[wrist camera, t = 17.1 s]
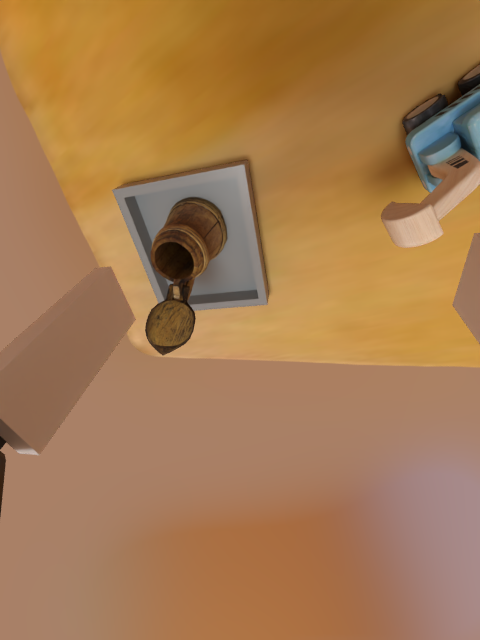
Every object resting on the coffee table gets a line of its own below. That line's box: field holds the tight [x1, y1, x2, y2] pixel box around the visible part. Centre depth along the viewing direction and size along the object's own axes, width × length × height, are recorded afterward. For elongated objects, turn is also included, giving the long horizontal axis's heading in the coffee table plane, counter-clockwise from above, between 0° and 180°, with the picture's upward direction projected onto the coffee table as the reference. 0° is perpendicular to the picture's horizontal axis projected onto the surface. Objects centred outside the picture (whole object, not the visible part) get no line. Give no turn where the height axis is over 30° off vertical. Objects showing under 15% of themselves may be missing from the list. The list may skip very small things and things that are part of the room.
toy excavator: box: [381, 64, 480, 248], centre depth 28 cm, size 9×17×17 cm, turn 128°
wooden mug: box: [145, 197, 227, 355], centre depth 38 cm, size 9×14×18 cm, turn 179°
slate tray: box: [112, 160, 269, 311], centre depth 44 cm, size 20×18×4 cm
